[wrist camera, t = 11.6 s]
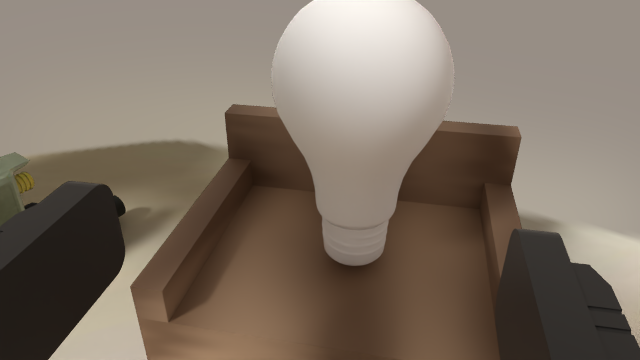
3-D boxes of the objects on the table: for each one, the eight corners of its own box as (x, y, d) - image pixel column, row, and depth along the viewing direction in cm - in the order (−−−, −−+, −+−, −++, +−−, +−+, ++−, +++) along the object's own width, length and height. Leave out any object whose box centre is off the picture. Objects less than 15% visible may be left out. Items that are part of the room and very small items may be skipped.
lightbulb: (451, 300, 19) (507, 3, 14) (293, 325, 18) (281, 14, 13) (397, 210, 25) (422, -34, 19) (272, 225, 23) (256, -28, 18)
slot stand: (154, 390, 21) (116, 228, 17) (244, 231, 30) (232, 104, 26) (516, 456, 18) (573, 285, 14) (488, 261, 28) (517, 126, 24)
